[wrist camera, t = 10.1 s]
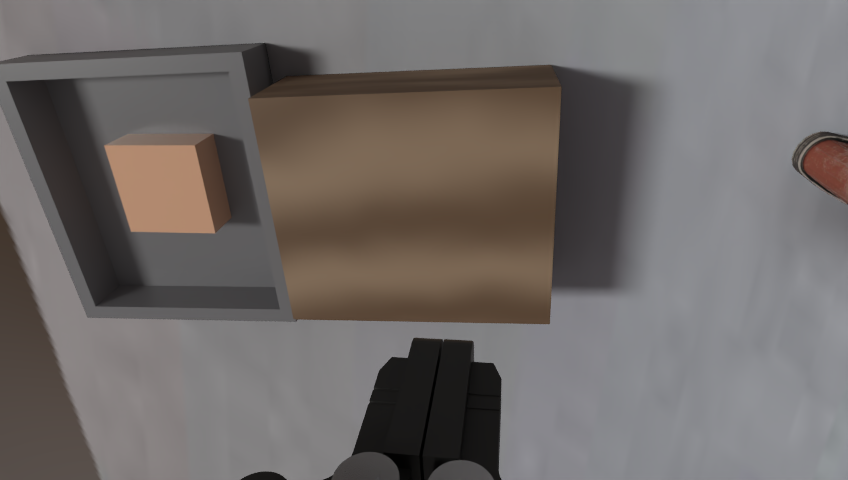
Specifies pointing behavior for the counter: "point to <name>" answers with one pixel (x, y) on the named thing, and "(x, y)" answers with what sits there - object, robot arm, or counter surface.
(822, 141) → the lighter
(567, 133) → the counter surface
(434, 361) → the robot arm
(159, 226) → the tile
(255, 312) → the tray
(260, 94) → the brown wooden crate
